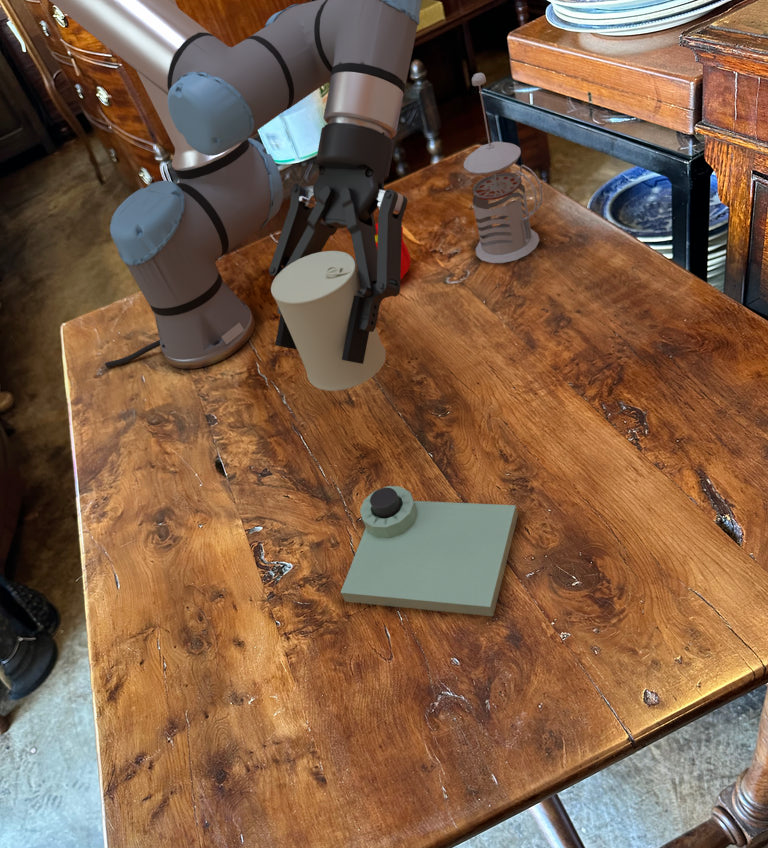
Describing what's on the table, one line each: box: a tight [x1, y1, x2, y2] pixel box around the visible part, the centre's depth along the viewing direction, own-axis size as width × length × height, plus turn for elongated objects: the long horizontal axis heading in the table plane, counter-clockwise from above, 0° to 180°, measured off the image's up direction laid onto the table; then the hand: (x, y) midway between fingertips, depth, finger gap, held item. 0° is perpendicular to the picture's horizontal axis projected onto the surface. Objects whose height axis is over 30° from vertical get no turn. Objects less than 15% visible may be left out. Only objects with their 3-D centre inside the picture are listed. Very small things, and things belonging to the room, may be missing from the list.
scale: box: [340, 485, 519, 617], centre depth 83 cm, size 16×13×4 cm
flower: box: [375, 222, 412, 280], centre depth 120 cm, size 8×8×8 cm
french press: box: [463, 72, 543, 264], centre depth 111 cm, size 10×12×25 cm
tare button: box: [370, 487, 401, 518], centre depth 85 cm, size 3×3×2 cm
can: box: [270, 250, 387, 392], centre depth 84 cm, size 9×9×12 cm
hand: (318, 354), depth 84 cm, fingers closed on can, 9 cm apart
